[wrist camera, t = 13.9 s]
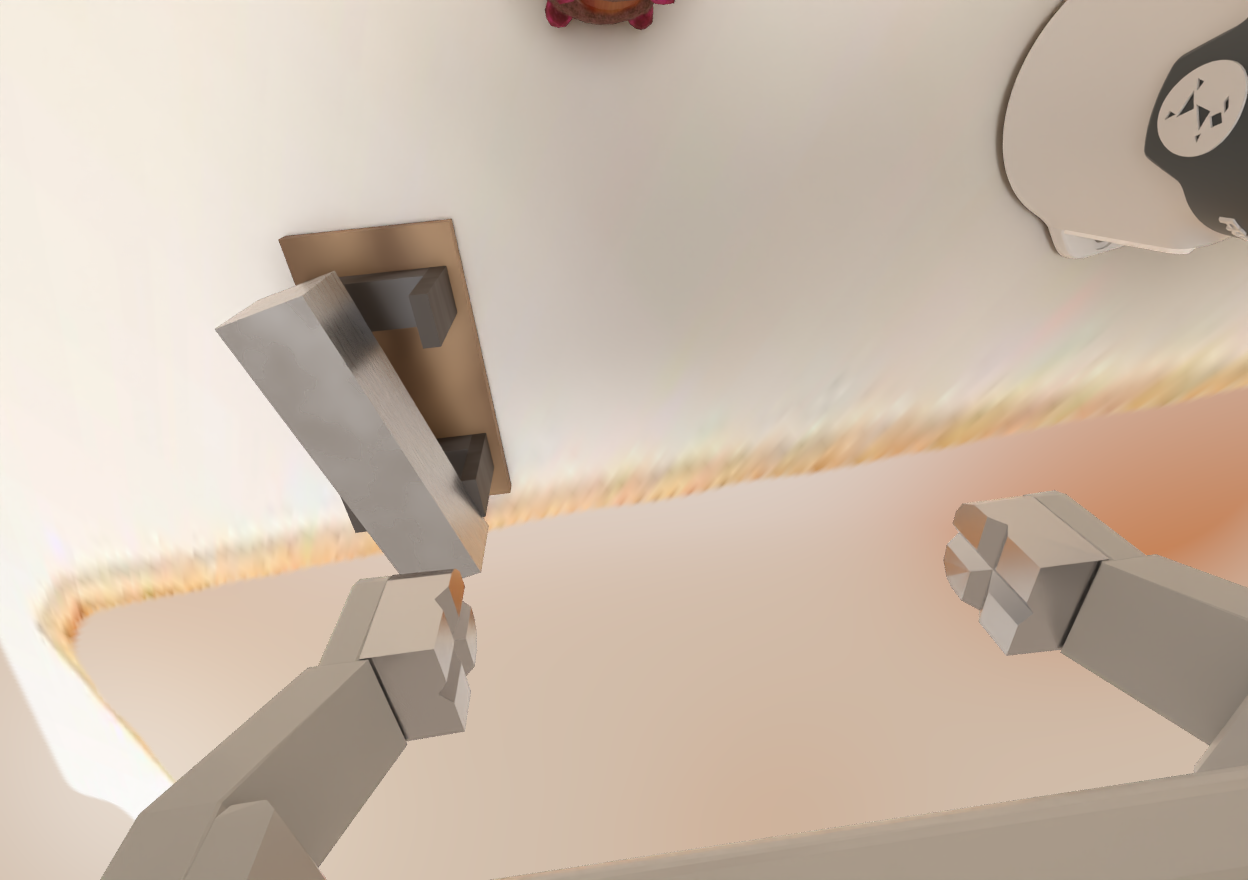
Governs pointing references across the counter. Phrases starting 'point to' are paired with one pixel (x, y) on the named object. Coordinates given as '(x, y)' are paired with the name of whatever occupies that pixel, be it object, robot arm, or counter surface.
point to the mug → (602, 11)
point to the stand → (419, 334)
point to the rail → (359, 424)
